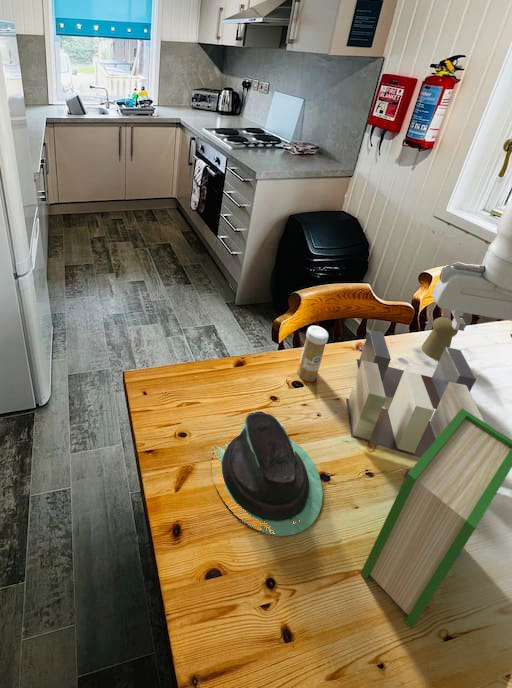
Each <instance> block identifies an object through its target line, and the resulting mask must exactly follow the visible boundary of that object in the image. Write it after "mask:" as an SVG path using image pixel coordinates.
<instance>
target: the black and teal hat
mask: <svg viewBox="0 0 512 688" xmlns="http://www.w3.org/2000/svg"><path fill="white" fill-rule="evenodd" d="M244 423H245V424H244V425H240V426H241V429H242V428H243V429H242V432H239V434H240V435H239V436H237V437H236V438H234V439H233V440H232V441H231V442H229V443H230V444H228V445H227V444H225V445H226V446H225V447H226V448H227V449H226V450H224V449H223V450H222V448H221V447H218V446H217V447H218V450H219V451H220V452H219V453H220V455H219V453H218V455H219V456H220V457H221V458H219V457H218V456H217V454H216V453H215V454H216V457H217V458H219V459H220V460H219V461H220V462H221V465H222V474H223V478H224V482H225V486H226V487H225V488H224V490H225V489H227V491H228V492H229V493H228V494H229V495H230V496H231V498H232V499H231V501H232V500H234V502H236V504H239V505H238V506H241V507H242V509H244V510H246V512H247V513H248V514H249V515H251V517H254V518H256V519H258V520H259V521H262V522H263V523H264V521H265V523H268V524H267V525H269V526H271V527H270V529H271V530H273V531H274V533H275V534H273V533H272V532H273V531H271V533H272V535H271V534H270V532H269V529H268V528H267V531H266V527H265V528H264V526H261V528H262V530H261V531H263V530H264V531H263V532H261V533H263V534H267V535H270V536H277V537H281V536H292V535H293V536H294V535H296V534H300V533H302V532H303V531H305V530H306V529H308V528H310V526H311V525H313V523H314V522H315V521H316V519H317V518H318V516H319V514H320V511H321V508H322V505H323V497H324V496H323V495H324V494H323V485H322V481H321V477H320V474H319V472H318V469H317V466H316V464H315V462H314V461H313V459H311V457H310V456H309V454H308V453H307V452H306V451H305V450H304V449H303V448H302V447H301V446H300V444H298V443H297V442H295V441H294V440H292V439H291V438H290V437H289V434H288V433H287V431H286V429H285V426H284V425H283V424H282V423H281V421H280V420H278V419H277V418H276V417H275V416H274V415H272V414H270V413H264V412H256V411H255V410H253V412H252V413H251V414H248V415H246V416H245V420H244ZM225 434H226V432H225V433H223V434H222V436H223V437H224V435H225ZM227 442H228V441H227ZM216 452H217V451H216ZM214 473H215V474H216V472H214ZM219 473H221V472H219ZM215 474H214V475H215ZM227 491H226V492H227ZM244 519H245V518H244ZM299 520H300V522H299ZM243 521H244V520H243ZM243 521H241V522H242V523H243ZM245 521H246V520H245ZM245 521H244V523H243V524H245ZM293 521H294V523H295V522H296V523H295V524H293ZM262 522H261V523H262ZM248 523H249V522H248ZM247 526H249V525H247ZM251 526H252V524H251V525H250V526H249V527H250V528H252V527H251ZM269 526H268V527H269ZM253 527H254V526H253ZM264 532H265V533H264Z"/></svg>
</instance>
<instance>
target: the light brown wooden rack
mask: <svg viewBox="0 0 512 688" xmlns="http://www.w3.org/2000/svg"><path fill="white" fill-rule="evenodd" d="M386 400H387V396H386V395H385V392H384V388H383V384H382V380H381V376H380V372H379V368H378V364H376V363H372V362H368V361H364V360H362V361H361V364H360V367H359V370H358V371H357V374H356V376H355V379H354V383H353V386H352V389H351V392H350V395H349V397H348V398H347V397H345V404H346V411H347V418H348V425H349V431H350V437H351V438H353V439H356V440H360V441H363V442H367V443H368V444H373V445H377V446H378V447H379V446H380V447H383V448H385V449H390V450H393V451H397V452H399V453H403V454H406V455H410V456H413V457H417V458H419V459H420V458H421V457H422V456H423V454H424V453H425V452H426V451H427V450H428V448H429V447H430V446H431V445H432V444H433V442H434V441H435V440H436V439H437V438H438V436H439V435H440V434H441V433H442V432H443V430H444V429H445V428H446V427H447V426H448V424H449V423H450V422H451V421H452V420H453V418H454V417H455V416H456V415H457V414H458V412H459V411H460V410H461V409H464V410H466V411H467V412H469V413H470V414H472V415H473V416H475V417H477V418H478V419H480V420H481V421H483V422H485V420H484V418H483V416H482V414H481V412H480V409H479V408H478V406H477V404H476V401H475V399H474V398H473V396H472V394H471V391H470V392H469V390H468V388H467V386H466V385H462V384H458V383H453V382H449V383H448V385H447V387H446V389H445V392H444V394H443V396H442V398H441V400H440V402H439V404H438V407H437V409H435V410H434V412H433V414H432V416H431V418H430V420H429V423H428V425H427V427H426V429H425V431H424V433H423V436H422V438H421V440H420V442H419V444H418V446H417V448H416V451H415V453H411V452H408V451H404V450H401V449H397V445H396V441H395V437H394V433H393V429H392V425H391V422H390V418H389V414H388V410H389V409H387V408H384V405H385V402H386Z"/></svg>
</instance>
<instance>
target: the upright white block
mask: <svg viewBox="0 0 512 688" xmlns="http://www.w3.org/2000/svg"><path fill="white" fill-rule="evenodd" d="M403 370H404V369H403ZM421 375H422V374H420V373H416V372H412V371H409V370H404V372H403V375H402V377H401V380H400V382H399V385H398V387H397V390H396V392H395V395H394V397H392V400H391V402H390V405H389V407H388V409H387V410H388V414H389V418H390V422H391V425H392V429H393V433H394V437H395V441H396V445H397V449H401V450H404V451H408V452H411V453H415V451H416V448H417V446H418V444H419V442H420V440H421V438H422V436H423V433H424V431H425V429H426V427H427V425H428V423H429V421H431V419H432V417H433V415H434V413H435V408H433V406H432V404H431V401H430V398H429V396H428V393H427V390H426V388H425V385H424V382H423V380H422V377H421Z"/></svg>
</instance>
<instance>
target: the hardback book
mask: <svg viewBox="0 0 512 688" xmlns="http://www.w3.org/2000/svg"><path fill="white" fill-rule="evenodd" d="M510 470H512V439H511V438H510V437H508V436H507V435H505V434H503V433H502V432H501V431H499V430H497V429H495V428H494V427H492V426H491V425H490V424H487V423H486V422H485V421H484V422H483V421H481V420H480V419H478V418H477V417H475V416H473V415H472V414H470V413H469V412H467V411H466V410H464V409H461V410H460V411H459V412H458V414H457V415H456V416H455V417H454V418H453V420H452V421H451V422H450V423H449V424H448V426H447V427H446V428H445V429H444V430H443V432H442V433H441V434H440V435H439V436H438V438H437V439H436V440H435V441H434V442H433V444H432V445H431V446H430V447H429V448H428V450H427V451H426V452H425V453H424V454H423V456H422V457H421V458H420V457H419V459H418V460H417V461H416V463H415V464H413V466H412V467H411V468H410V470H408V472H407V474H406V475H405V478H404V480H403V482H402V484H401V486H400V489H399V491H398V493H397V494H396V497H395V499H394V501H393V503H392V506H391V508H390V510H389V511H388V514H387V516H386V518H385V519H384V520H385V521H384V523H383V525H382V526H381V529H380V531H379V533H378V535H377V537H376V539H375V542H374V544H373V546H372V548H371V550H370V552H369V554H368V555H367V556H368V557H367V559H366V561H365V563H364V565H363V567H362V569H361V571H360V573H361V574H362V575H363V576H364V577H365V578H366V579H367V580H368V578H369V577H371V578H372V579H373V580H374V581H375V582H376V583H377V584H378V585H379V587H381V589H383V590H384V592H386V593H387V595H388V596H389V597H390V598H391V599H392V600H393V601H394V602H395V603H396V604H397V605H398V606H399V607H400V609H401V610H402V611H403V612H404V613H405V614H406V615H407V617H406V618H405V620H404V622H405V621H406V622H407V623H408V624H409V626H410V627H411V628H412V629H413V627H414V626H415V624H416V623H417V621H418V620H419V618H420V616H421V615H422V614H423V612H424V611H425V609H426V607H427V606H428V604H429V602H430V601H431V600H432V598H433V596H434V595H435V593H436V591H437V589H438V588H439V587H440V585H441V583H442V582H443V581H444V579H445V577H446V576H447V574H448V572H449V571H450V569H451V568H452V566H453V565H454V563H455V561H456V560H457V558H458V557H459V555H460V553H461V552H462V551H463V549H464V547H465V546H466V544H467V542H468V541H469V540H470V538H471V536H472V535H473V533H474V532H475V531H476V528H477V527H478V525H479V523H480V521H481V520H482V519H483V517H484V515H485V513H486V512H487V509H489V506H490V504H491V503H492V501H493V500H494V499H495V496H496V495H497V493H498V492H499V490H500V488H501V487H502V484H503V483H504V481H505V480H506V478H507V476H508V475H509V473H510ZM361 574H360V575H361ZM362 575H361V576H362ZM363 576H362V577H363ZM364 577H363V578H364ZM365 578H364V579H365ZM366 579H365V580H366ZM406 622H405V623H406ZM407 623H406V624H407ZM408 624H407V625H408ZM409 626H408V627H409ZM410 627H409V628H410ZM411 628H410V629H411Z"/></svg>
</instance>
